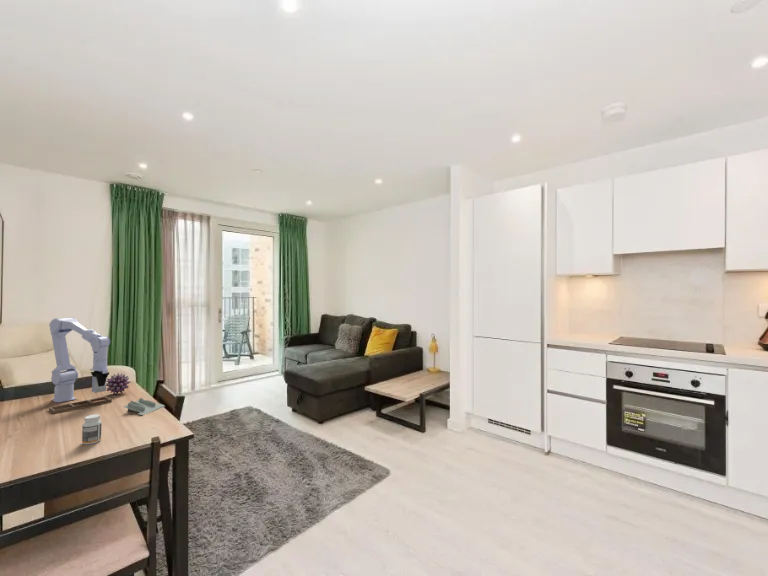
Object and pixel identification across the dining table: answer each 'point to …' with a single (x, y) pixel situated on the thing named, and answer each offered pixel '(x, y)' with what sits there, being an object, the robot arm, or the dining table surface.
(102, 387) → the square peg
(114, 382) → the spiky ball
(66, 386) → the robot arm
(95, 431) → the pill bottle
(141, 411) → the metal bracket
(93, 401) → the rail
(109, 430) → the dining table surface
